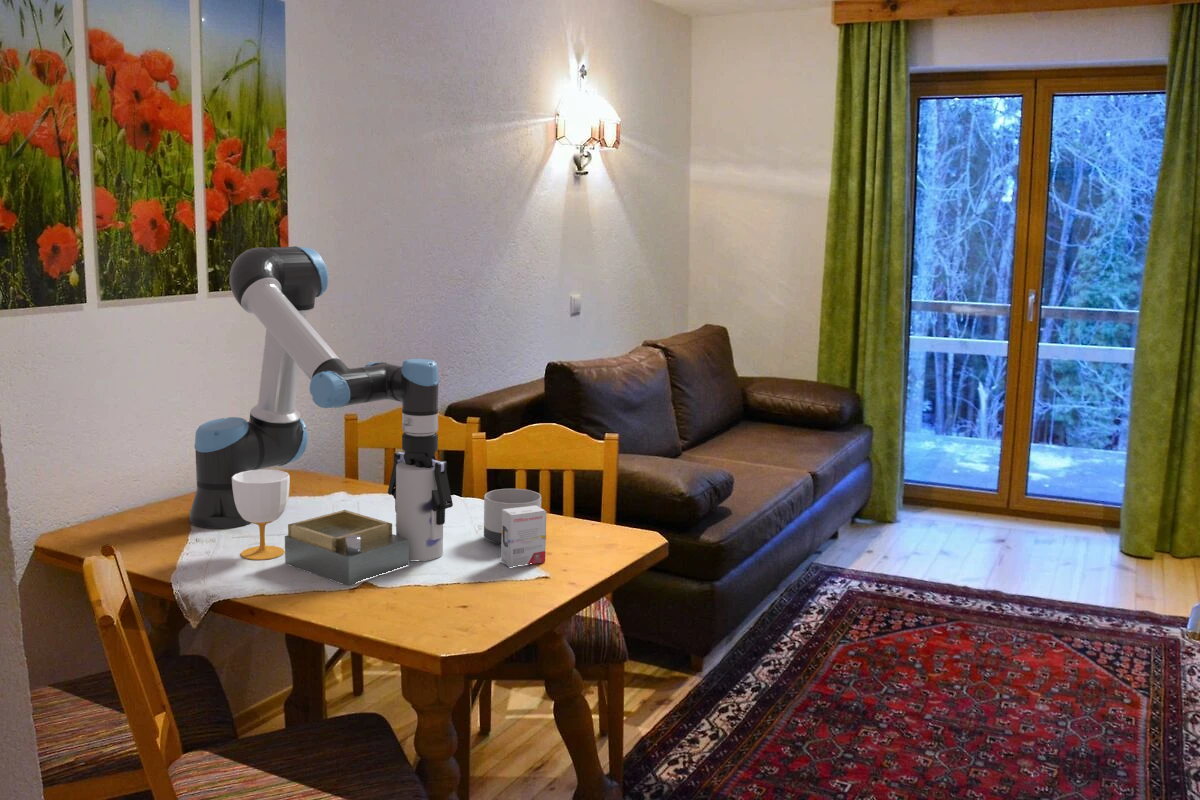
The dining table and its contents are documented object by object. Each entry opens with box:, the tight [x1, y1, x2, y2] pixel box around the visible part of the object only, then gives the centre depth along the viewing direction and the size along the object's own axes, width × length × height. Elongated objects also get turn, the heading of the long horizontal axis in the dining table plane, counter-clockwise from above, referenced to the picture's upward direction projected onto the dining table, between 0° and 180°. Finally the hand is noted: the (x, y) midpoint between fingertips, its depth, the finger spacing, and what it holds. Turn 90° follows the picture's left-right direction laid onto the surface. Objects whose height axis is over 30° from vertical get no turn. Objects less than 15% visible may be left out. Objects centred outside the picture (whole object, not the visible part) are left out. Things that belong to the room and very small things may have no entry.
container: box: [395, 461, 444, 562], centre depth 236 cm, size 10×10×20 cm
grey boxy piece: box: [284, 509, 410, 587], centre depth 228 cm, size 20×16×9 cm
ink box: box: [500, 505, 547, 568], centre depth 233 cm, size 9×5×12 cm, turn 119°
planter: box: [483, 488, 542, 546], centre depth 248 cm, size 13×13×10 cm
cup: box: [232, 469, 291, 561], centre depth 233 cm, size 12×12×17 cm
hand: (419, 533), depth 237 cm, fingers closed on container, 10 cm apart
